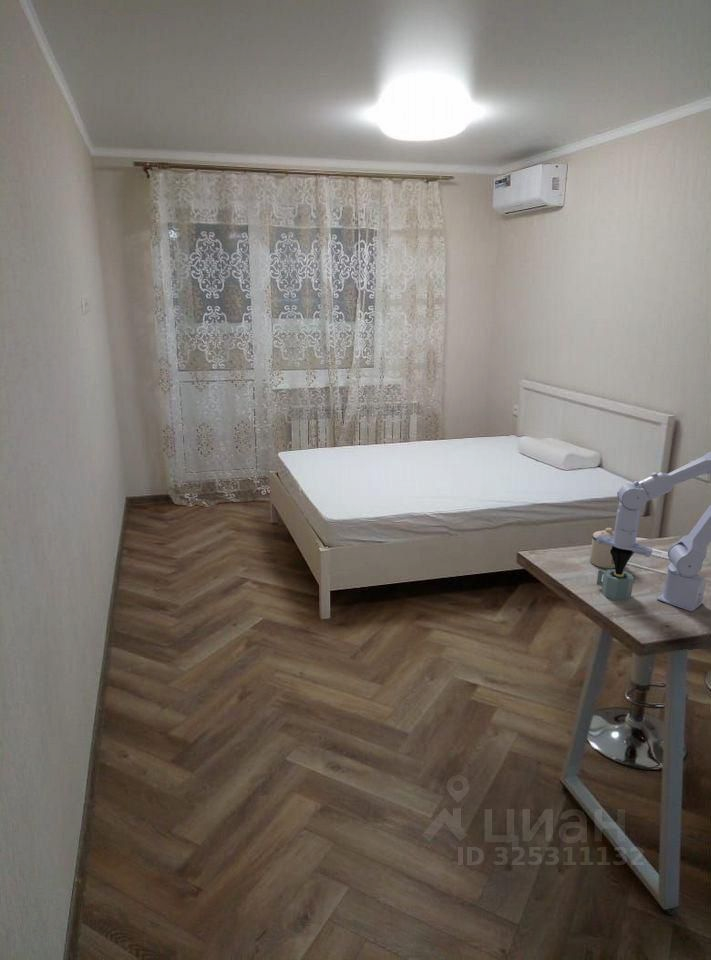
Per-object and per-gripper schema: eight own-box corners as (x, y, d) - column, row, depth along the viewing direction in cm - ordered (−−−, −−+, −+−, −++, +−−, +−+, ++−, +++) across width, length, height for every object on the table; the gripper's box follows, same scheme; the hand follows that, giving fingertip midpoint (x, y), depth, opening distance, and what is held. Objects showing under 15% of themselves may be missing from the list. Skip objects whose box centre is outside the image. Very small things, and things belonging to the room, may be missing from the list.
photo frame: (681, 554, 208) (669, 573, 194) (681, 557, 208) (669, 576, 194) (634, 543, 216) (619, 560, 202) (633, 546, 216) (619, 563, 202)
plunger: (625, 590, 180) (628, 573, 179) (619, 594, 178) (622, 577, 177) (613, 586, 183) (615, 569, 181) (607, 590, 181) (610, 572, 179)
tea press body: (634, 595, 181) (637, 575, 179) (622, 602, 176) (625, 583, 174) (602, 583, 187) (605, 565, 185) (590, 591, 182) (593, 571, 181)
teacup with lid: (616, 571, 196) (622, 536, 192) (586, 564, 200) (590, 530, 197) (622, 558, 206) (628, 524, 202) (593, 552, 210) (598, 518, 207)
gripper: (658, 530, 173) (650, 576, 177) (605, 517, 182) (598, 561, 186) (650, 537, 168) (642, 584, 172) (595, 524, 177) (589, 568, 181)
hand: (619, 573), depth 179 cm, fingers closed, pressing on plunger
